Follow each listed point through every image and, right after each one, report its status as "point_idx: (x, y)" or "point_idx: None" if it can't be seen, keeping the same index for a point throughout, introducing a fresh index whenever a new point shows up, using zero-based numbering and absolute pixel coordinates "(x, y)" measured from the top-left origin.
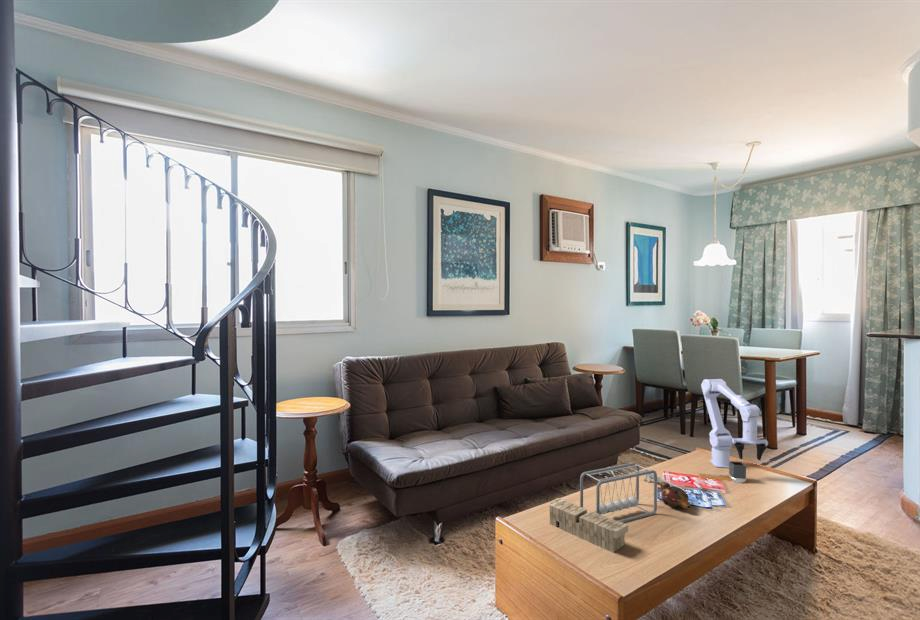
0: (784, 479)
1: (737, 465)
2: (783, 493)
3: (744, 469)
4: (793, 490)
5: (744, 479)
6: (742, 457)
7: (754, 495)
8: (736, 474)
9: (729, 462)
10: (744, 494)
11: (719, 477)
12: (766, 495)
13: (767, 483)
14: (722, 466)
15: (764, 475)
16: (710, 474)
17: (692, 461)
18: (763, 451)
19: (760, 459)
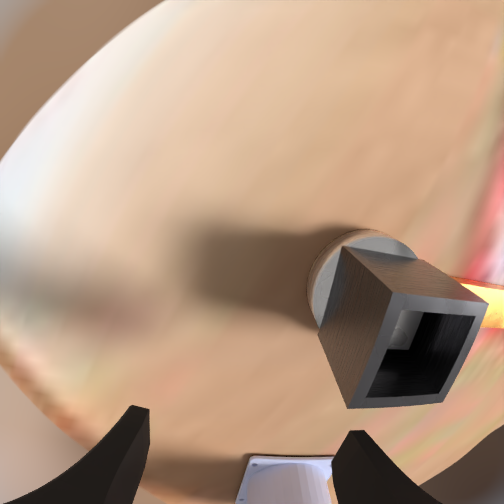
0: (25, 301)
1: (465, 299)
2: (161, 41)
3: (387, 276)
4: (57, 110)
5: (352, 242)
6: (358, 443)
7: (398, 23)
8: (421, 267)
9: (442, 390)
10: (447, 50)
11: (474, 285)
12: (318, 9)
13: (159, 229)
14: (307, 460)
15: (109, 366)
16: (487, 324)
17: None
18: (48, 487)
19: (127, 411)
